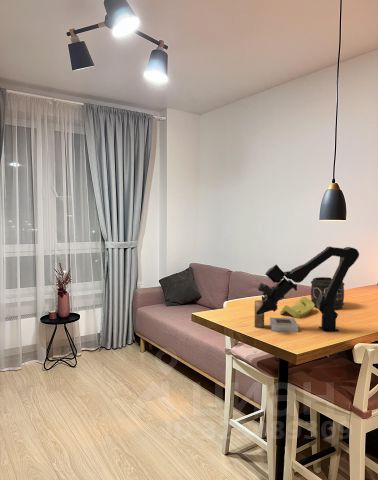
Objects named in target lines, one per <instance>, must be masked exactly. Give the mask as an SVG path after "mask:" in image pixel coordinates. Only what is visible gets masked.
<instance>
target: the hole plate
mask: <svg viewBox="0 0 378 480" xmlns="http://www.w3.org/2000/svg"><path fill="white" fill-rule="evenodd" d="M269 326H270V330H271V332H287V333H289V332H290V333H292V332H293V333H299V324H298V323H297V320H296V318H295V317H292V318H291V317H269Z"/></svg>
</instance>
